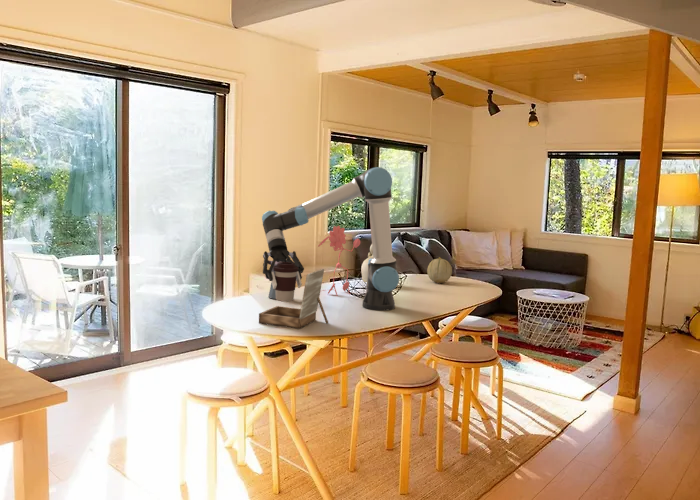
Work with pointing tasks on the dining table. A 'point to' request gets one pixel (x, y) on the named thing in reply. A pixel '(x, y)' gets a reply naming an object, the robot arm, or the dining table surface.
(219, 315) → the dining table surface
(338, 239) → the figurine
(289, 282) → the coffee cup
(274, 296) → the moka pot
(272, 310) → the cold frame
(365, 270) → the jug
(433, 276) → the cantaloupe
